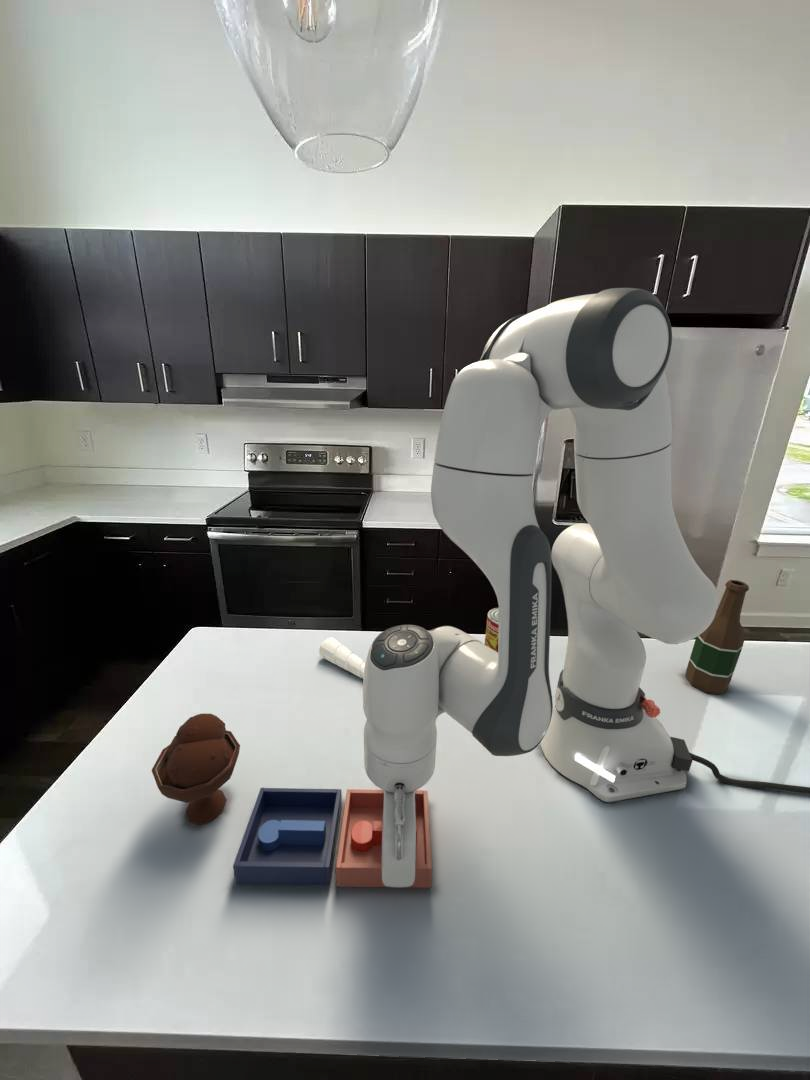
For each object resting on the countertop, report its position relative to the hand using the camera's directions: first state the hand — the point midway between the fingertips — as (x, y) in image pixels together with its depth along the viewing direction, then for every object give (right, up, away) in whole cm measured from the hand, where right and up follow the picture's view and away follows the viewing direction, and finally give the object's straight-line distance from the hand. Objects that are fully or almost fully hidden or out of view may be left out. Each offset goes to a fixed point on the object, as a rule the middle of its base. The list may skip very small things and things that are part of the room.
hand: (398, 830), depth 57 cm
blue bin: (-14, -2, +1) cm, 14 cm away
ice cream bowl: (-28, 0, +5) cm, 29 cm away
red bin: (-2, -2, +1) cm, 3 cm away
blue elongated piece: (-14, -2, +1) cm, 15 cm away
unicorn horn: (-8, +10, +35) cm, 37 cm away
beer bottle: (+66, +8, +35) cm, 75 cm away
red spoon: (-2, -2, +1) cm, 3 cm away
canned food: (+23, +11, +40) cm, 47 cm away
